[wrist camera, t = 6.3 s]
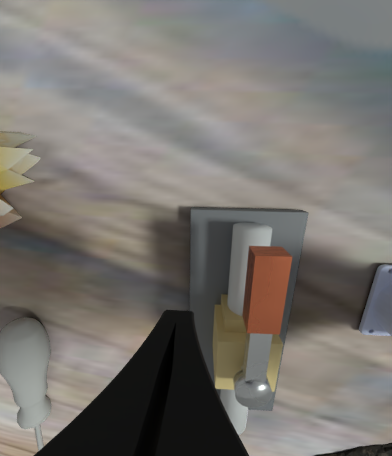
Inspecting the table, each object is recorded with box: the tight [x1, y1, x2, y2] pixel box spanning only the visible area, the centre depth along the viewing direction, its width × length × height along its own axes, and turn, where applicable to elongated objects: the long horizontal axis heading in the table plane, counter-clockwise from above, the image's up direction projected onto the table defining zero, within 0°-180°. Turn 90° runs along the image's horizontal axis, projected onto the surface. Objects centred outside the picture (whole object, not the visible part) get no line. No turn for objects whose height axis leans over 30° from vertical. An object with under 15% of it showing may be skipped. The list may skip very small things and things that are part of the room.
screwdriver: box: [0, 318, 52, 451], centre depth 24 cm, size 5×25×4 cm, turn 170°
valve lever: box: [233, 246, 292, 408], centre depth 13 cm, size 12×3×2 cm, turn 179°
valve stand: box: [189, 207, 308, 435], centre depth 18 cm, size 10×24×6 cm, turn 179°
